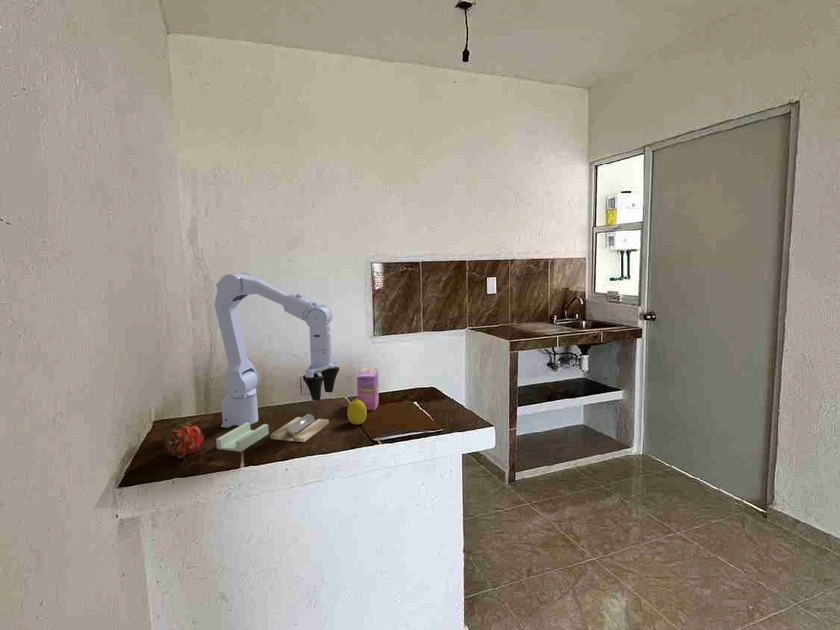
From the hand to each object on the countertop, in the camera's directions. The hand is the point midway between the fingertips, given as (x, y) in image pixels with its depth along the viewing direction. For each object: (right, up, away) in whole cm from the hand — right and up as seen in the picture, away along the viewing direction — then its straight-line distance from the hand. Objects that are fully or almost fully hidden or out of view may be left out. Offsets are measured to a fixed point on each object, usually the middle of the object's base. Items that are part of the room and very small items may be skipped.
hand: (322, 395), depth 134 cm
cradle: (-18, -11, -11) cm, 24 cm away
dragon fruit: (-31, -12, -16) cm, 37 cm away
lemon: (+10, -9, +1) cm, 13 cm away
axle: (-5, -9, -4) cm, 11 cm away
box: (+11, -7, +17) cm, 21 cm away
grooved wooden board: (-5, -10, -4) cm, 12 cm away
